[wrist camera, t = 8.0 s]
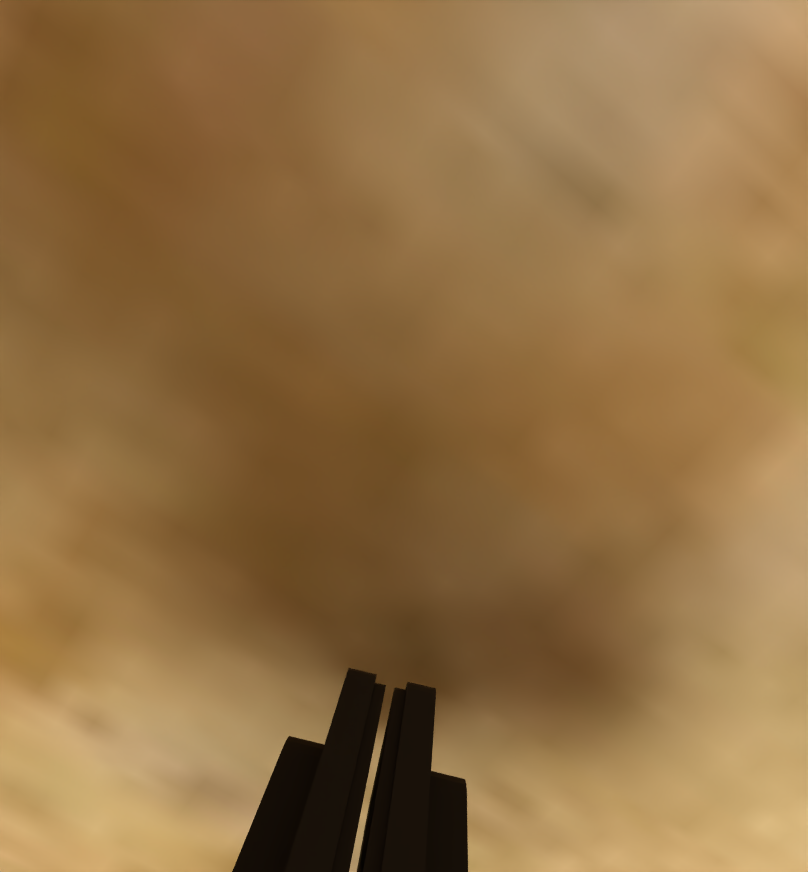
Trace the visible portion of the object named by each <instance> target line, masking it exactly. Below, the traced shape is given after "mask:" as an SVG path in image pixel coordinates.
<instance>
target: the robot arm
mask: <svg viewBox="0 0 808 872" xmlns="http://www.w3.org/2000/svg"><path fill="white" fill-rule="evenodd" d="M375 680H376V674H372V673H368V672H363V671H359V670H355V669H351V668H349V669H348V672H347V675H346V678H345V681H344V684H343V687H342V691H341V694H340V697H339V700H338V703H337V707H336V710H335V713H334V716H333V719H332V723H331V726H330V729H329V732H328V735H327V739H326V742H325V745H323V744H319V743H315V742H311V741H307V740H303V739H299V738H295V737H291V736H289V737H288V738H287V740H286V742H285V744H284V746H283V749H282V751H281V754H280V756H279V758H278V761H277V763H276V766H275V768H274V771H273V773H272V776H271V778H270V781H269V783H268V785H267V788H266V790H265V793H264V795H263V798H262V800H261V803H260V805H259V808H258V810H257V812H256V815H255V817H254V820H253V822H252V825H251V827H250V830H249V832H248V835H247V837H246V839H245V842H244V844H243V847H242V849H241V852H240V854H239V857H238V859H237V862H236V864H235V866H234V869H233V871H232V872H349V868H350V863H351V858H352V853H353V848H354V843H355V838H356V833H357V828H358V823H359V818H360V813H361V808H362V803H363V798H364V793H365V788H366V783H367V778H368V773H369V768H370V763H371V758H372V753H373V748H374V743H375V738H376V733H377V728H378V722H379V717H380V712H381V707H382V702H383V697H384V692H385V687H386V685H382V684H377V683H375ZM435 699H436V689H435V688H431V687H427V686H423V685H418V684H414V683H410V682H407V685H406V689H405V690H403V689H399V688H395V689H394V693H393V698H392V703H391V707H390V712H389V716H388V721H387V726H386V730H385V735H384V739H383V744H382V749H381V753H380V758H379V762H378V767H377V772H376V776H375V781H374V785H373V790H372V795H371V799H370V804H369V809H368V814H367V819H366V825H365V830H364V836H363V841H362V846H361V852H360V857H359V863H358V868H357V872H468V843H467V789H466V781H465V779H462V778H458V777H454V776H450V775H445V774H441V773H437V772H433V771H431V762H432V746H433V731H434V715H435Z"/></svg>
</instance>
